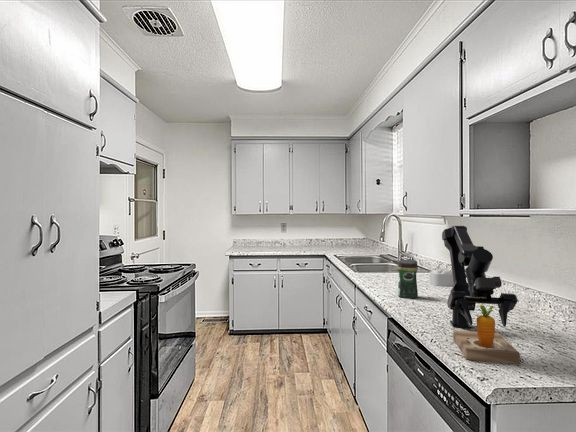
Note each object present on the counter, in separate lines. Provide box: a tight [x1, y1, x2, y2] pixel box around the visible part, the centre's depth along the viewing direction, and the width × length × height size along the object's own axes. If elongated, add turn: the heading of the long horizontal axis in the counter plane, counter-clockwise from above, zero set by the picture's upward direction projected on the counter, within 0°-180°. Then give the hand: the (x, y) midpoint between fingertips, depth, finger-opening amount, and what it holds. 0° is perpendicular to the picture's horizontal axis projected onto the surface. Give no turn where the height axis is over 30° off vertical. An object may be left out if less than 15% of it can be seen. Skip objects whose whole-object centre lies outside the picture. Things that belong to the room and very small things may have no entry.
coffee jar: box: [397, 259, 419, 299], centre depth 190 cm, size 10×8×19 cm
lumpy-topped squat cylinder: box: [429, 268, 454, 288], centre depth 222 cm, size 10×13×9 cm
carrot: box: [476, 303, 496, 348], centre depth 115 cm, size 5×5×15 cm
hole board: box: [452, 329, 521, 365], centre depth 118 cm, size 18×14×3 cm
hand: (488, 325), depth 113 cm, fingers open, 9 cm apart
